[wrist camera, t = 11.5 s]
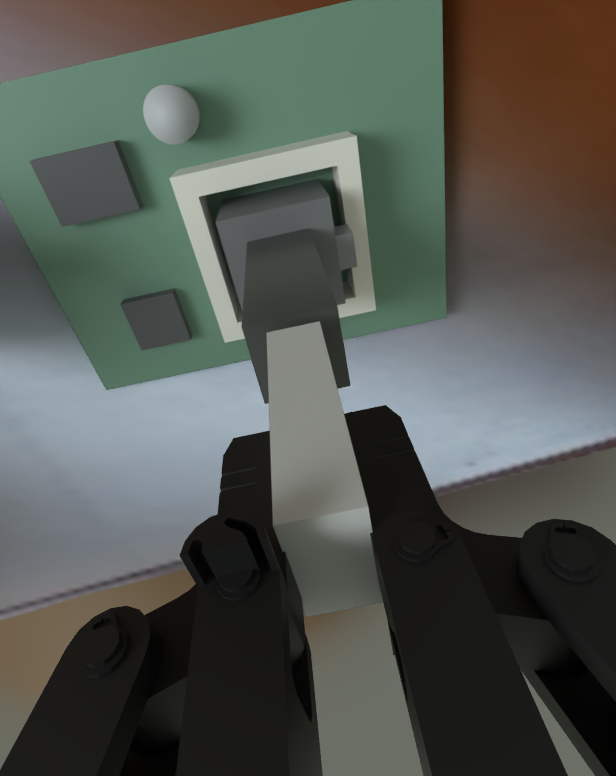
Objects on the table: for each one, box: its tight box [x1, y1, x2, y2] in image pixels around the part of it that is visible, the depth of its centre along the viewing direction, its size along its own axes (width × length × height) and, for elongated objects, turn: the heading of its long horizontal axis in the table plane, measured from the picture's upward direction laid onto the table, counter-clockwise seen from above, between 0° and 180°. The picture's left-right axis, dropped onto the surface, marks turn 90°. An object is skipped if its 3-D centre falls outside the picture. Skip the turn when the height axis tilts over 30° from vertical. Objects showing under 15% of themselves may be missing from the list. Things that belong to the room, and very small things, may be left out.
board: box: [0, 0, 446, 390], centre depth 23 cm, size 22×16×4 cm
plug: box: [216, 179, 357, 404], centre depth 19 cm, size 6×5×13 cm
